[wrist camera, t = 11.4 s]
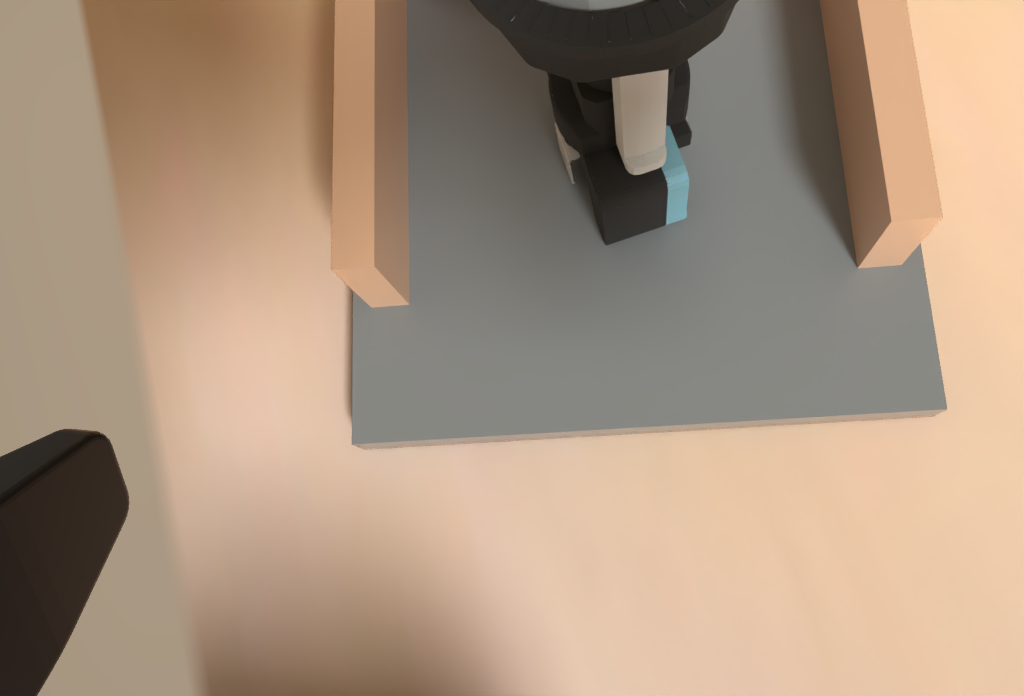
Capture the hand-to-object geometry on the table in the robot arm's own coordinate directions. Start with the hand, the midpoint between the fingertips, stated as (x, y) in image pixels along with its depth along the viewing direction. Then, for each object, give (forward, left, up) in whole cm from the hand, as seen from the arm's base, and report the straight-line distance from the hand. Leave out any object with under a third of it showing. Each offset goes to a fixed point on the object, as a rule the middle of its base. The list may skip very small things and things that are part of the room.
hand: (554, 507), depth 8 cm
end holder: (+11, -1, -14) cm, 17 cm away
